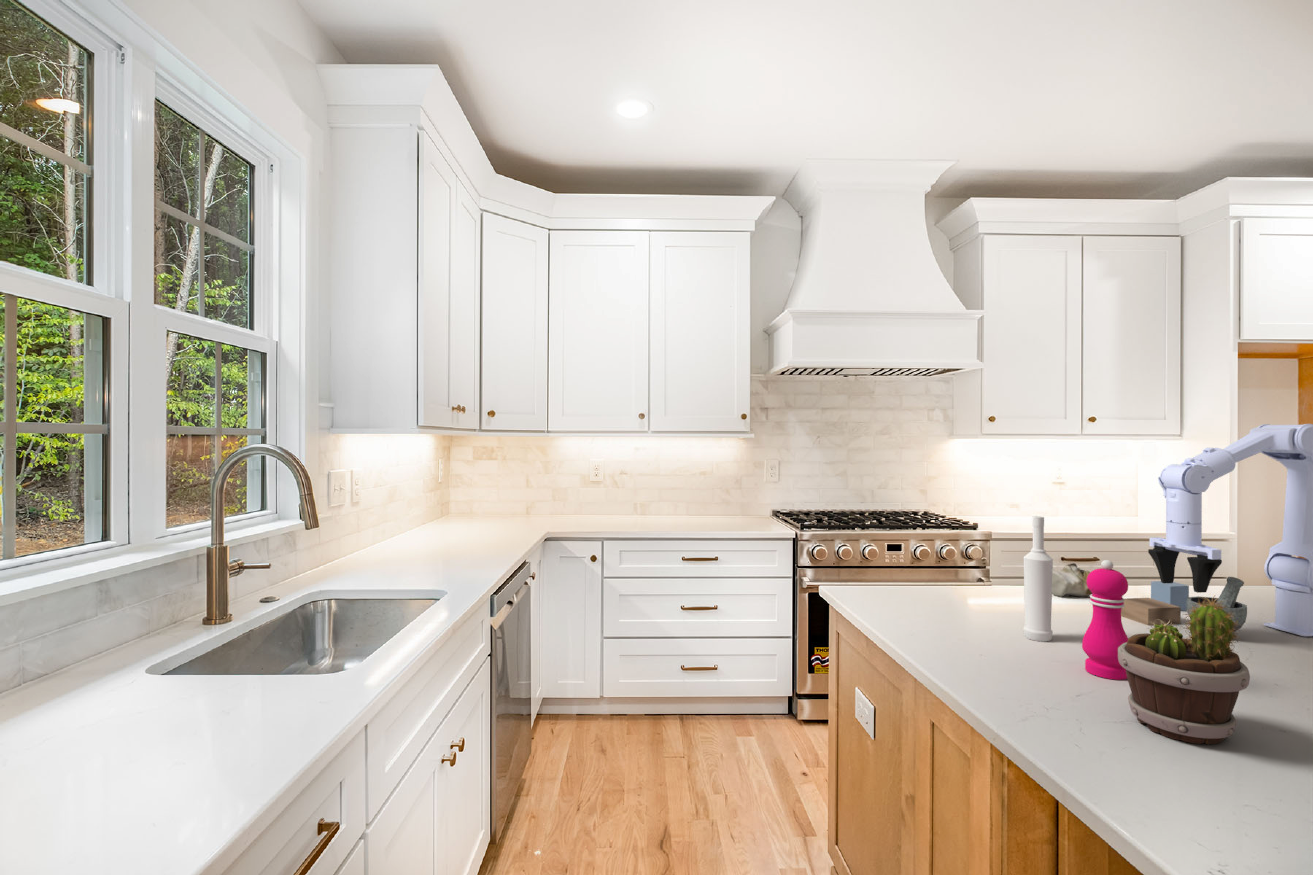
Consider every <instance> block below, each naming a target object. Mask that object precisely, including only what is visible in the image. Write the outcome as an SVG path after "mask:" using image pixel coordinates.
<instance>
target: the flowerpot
mask: <svg viewBox="0 0 1313 875" xmlns="http://www.w3.org/2000/svg"><path fill="white" fill-rule="evenodd" d="M1199 597H1200V598H1201V597H1202V596H1199ZM1203 597H1204V598H1205V597H1206V596H1203ZM1204 598H1203V599H1204ZM1213 598H1215V596H1212V602H1210V600H1208V599H1207V598H1206V599H1207V601H1208V602H1209V603H1210V604H1208V603H1207V604H1206V605H1205V603H1206V602H1207V601H1206V599H1205V600H1204V601H1203V602H1202V605H1201V603H1200V601H1199V602H1198V605H1199V606H1200V607H1198V606H1197V608H1196V607H1194V608H1195V609H1193V607H1192V606H1191V607H1192V609H1193V610H1192V609H1190V610H1192V613H1191V612H1190V613H1191V614H1190V613H1189V615H1188V611H1186V613H1185V614H1182V615H1183V616H1184V615H1185V617H1184V619H1186V618H1187V620H1186V621H1187V622H1186V624H1184V626H1182V625H1180V628H1178V626H1176V624H1172V622H1171V624H1169V625H1167V624H1168V623H1169V622H1170V621H1169V622H1168V623H1167V624H1166V623H1165V624H1166V625H1165V624H1164V623H1163V624H1164V625H1163V624H1161V625H1155V624H1154V623H1153V624H1154V625H1150V626H1151V627H1150V628H1149V627H1147V628H1146V629H1148V630H1149V633H1136V634H1133V635H1131V636H1130V637H1128V641H1127V642H1126V643H1123V644H1122V645H1121V646H1119V648H1118V660H1119V663H1120V665H1121V666H1122V667H1123V668H1124V669H1126V674H1127V679H1126V680H1127V682H1128V685H1129V689H1130V694H1129V695H1128V698H1127V699H1128V704H1129V707H1130V710H1131V711H1130V712H1132V714H1133V716H1135V717H1136V720H1137V722H1139V724H1146V727H1147V728H1148V730H1150V731H1152V732H1154V733H1157V734H1161V735H1163V736H1164V737H1167V738H1168V739H1169V738H1170V739H1173V740H1176V741H1177V740H1178V741H1183V742H1184V743H1190V744H1195V745H1200V744H1205V745H1216V744H1220V743H1221V742H1223V740H1225V738H1229V737H1230V736H1232V735H1233V734H1234V732H1235V729H1236V725H1237V722H1238V721H1237V718H1236V716H1235V715H1234V714H1233V711H1234V708H1235V706H1236V703H1237V701H1238V697H1239V694H1240V691H1243V690H1245V689H1247V687H1248V686H1249V684H1250V678H1251V677H1250V676H1251V675H1250V671H1249V668H1248V667H1247V665H1246V664H1244V663H1243V662H1242V661H1241V659H1240V656H1239V654H1238V653H1237V652H1236V651H1235V649H1236V648H1235V645H1234V644H1237V643H1239V641H1238V640H1240V638H1239V637H1238V634H1236V631H1238V630H1240V629H1239V628H1238V630H1237V629H1236V631H1235V632H1234V633H1235V634H1234V636H1233V633H1232V632H1233V631H1234V630H1235V629H1234V630H1233V628H1234V627H1235V625H1236V626H1237V622H1238V621H1237V622H1235V623H1234V622H1233V621H1232V619H1231V618H1232V617H1233V616H1235V615H1233V616H1231V615H1232V614H1231V613H1230V612H1229V613H1230V614H1228V613H1226V612H1225V611H1224V610H1225V609H1224V610H1222V608H1227V607H1222V605H1221V607H1220V604H1221V603H1220V604H1219V603H1218V604H1216V603H1217V602H1216V603H1215V601H1216V600H1217V599H1215V600H1214V602H1213ZM1205 601H1206V602H1205ZM1219 602H1221V601H1219ZM1203 603H1204V604H1203ZM1222 604H1223V603H1222ZM1217 605H1219V606H1217ZM1226 611H1227V610H1226ZM1231 612H1232V610H1231ZM1234 613H1235V612H1234ZM1234 613H1233V614H1234ZM1182 615H1181V616H1182ZM1230 617H1231V618H1230ZM1235 619H1236V618H1235ZM1157 620H1158V619H1157ZM1170 620H1171V619H1170ZM1160 621H1161V620H1160ZM1163 621H1164V620H1163ZM1151 623H1152V622H1151ZM1233 625H1234V627H1233ZM1240 625H1241V624H1240ZM1153 626H1154V627H1153ZM1181 629H1182V630H1183V629H1184V630H1185V629H1186V630H1185V632H1186V634H1188V636H1185V637H1184V635H1183V633H1181V632H1180V631H1181ZM1232 630H1233V631H1232ZM1234 637H1235V638H1234ZM1232 639H1233V640H1232ZM1234 639H1235V640H1236V639H1238V640H1236V641H1235V640H1234Z"/></svg>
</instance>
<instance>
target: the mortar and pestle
mask: <svg viewBox="0 0 1313 875" xmlns="http://www.w3.org/2000/svg"><path fill="white" fill-rule="evenodd" d="M1244 584H1245V582H1244V581H1243V580H1241V579H1240V578H1238V577H1234V576H1227V578H1226V583H1225V586H1224V587H1223V589H1222V591H1221V593H1220V594H1219V597H1214V598H1213V596H1212V597H1209V596H1199V595H1198V596H1189V597H1187V611H1186V612H1188V613H1187V614H1188V615H1187V616H1189V613H1190V612H1191V613H1192V610H1193V609H1195V608H1194V607H1196V608H1197V606H1198V607H1200V606H1199V605H1198V602H1199V601H1200V603H1201V605H1202V602H1203V601H1204V600H1205V599H1206V598H1207V599H1208V600H1210V602H1212V598H1213V602H1214V600H1215V599H1217V600H1216V601H1215V603H1216V602H1217V603H1216V604H1218V603H1219V604H1220V603H1221V604H1220V607H1221V605H1222V607H1227V608H1222V610H1224V609H1225V610H1224V611H1225V612H1226V613H1228V614H1230V613H1231V614H1232V615H1231V616H1233V615H1235V616H1233V617H1232V618H1231V617H1230V618H1231V619H1232V621H1233V622H1234V623H1235V622H1237V621H1238V622H1237V626H1236V625H1235V627H1234V625H1233V627H1234V628H1233V630H1234V629H1235V630H1234V631H1233V630H1232V631H1233V632H1232V633H1233V636H1234V634H1235V635H1236V631H1239V630H1241V628H1243V626H1244V625H1245V623H1246V621H1247V616H1248V605H1246V604H1244V603H1242V602H1238V601H1237V599H1238V596H1239V593H1240V590H1241V588H1242V587H1244ZM1200 597H1201V598H1200ZM1204 597H1205V598H1204ZM1203 598H1204V599H1203ZM1207 599H1206V601H1207ZM1206 601H1205V602H1206ZM1219 601H1221V602H1219ZM1207 603H1208V604H1210V603H1209V602H1208V601H1207V602H1206V603H1205V605H1206V604H1207ZM1222 603H1223V604H1222ZM1203 604H1204V603H1203ZM1191 606H1192V607H1193V609H1192V607H1191ZM1217 606H1219V605H1217ZM1190 609H1192V610H1190ZM1226 610H1227V611H1226ZM1231 610H1232V612H1231ZM1229 612H1230V613H1229ZM1234 612H1235V613H1234ZM1191 613H1190V614H1191ZM1233 613H1234V614H1233ZM1235 618H1236V619H1235ZM1240 624H1241V625H1240ZM1238 628H1239V629H1238ZM1236 629H1237V630H1236ZM1234 632H1235V633H1234ZM1234 638H1235V637H1234ZM1232 640H1233V639H1232ZM1233 641H1236V638H1235V639H1234V640H1233Z"/></svg>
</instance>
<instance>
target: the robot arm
mask: <svg viewBox="0 0 1313 875" xmlns="http://www.w3.org/2000/svg"><path fill="white" fill-rule="evenodd" d="M1258 454H1263V455H1265V456H1267V457H1268V458H1271V459H1273V460H1275V461H1276V462H1279V463H1280V464H1281V465H1283V466H1284V467H1285V469H1287V471H1286V472H1287V474H1286V483H1285V484H1286V486H1285V498H1284V500H1285V501H1284V512H1283V525H1282V527H1283V528H1282V538H1281V540H1282V541H1280V542H1278V543H1276V544H1275V545H1273V546H1270V548H1269V553H1268V557H1267V558H1266V560H1265V562H1264V573H1265V575H1266V577H1267V579H1269V580H1270V581H1271V585H1272V586H1275V588H1274V590H1275V595H1274V597H1275V598H1274V599H1275V602H1274V603H1275V604H1274V622H1264V623H1263V626H1264V627H1267V628H1268V627H1269V628H1272V629H1276V630H1280V631H1283V632H1287V633H1290V634H1293V635H1298V636H1299V637H1300V636H1301V637H1313V423H1304V424H1270V423H1267V424H1266V423H1265V424H1260V425H1258V426H1257V427H1254V428H1251V429H1249V433H1248V434H1246V435H1245V436H1243V437H1241V438H1239V439H1237V440H1236V441H1234V442H1233V443H1230V444H1229V445H1227V446H1226V447H1224V448H1219V447H1205V448H1203V449H1202V452H1201V453H1199V454H1197V455H1195V456H1193V457H1187V458H1185V459H1184V460H1183V462H1181V463H1180V464H1178V463H1176V464H1175V463H1172V464H1169V465H1167V466H1166V467H1164V468H1163V469H1162V471H1161V472H1160V476H1158V477H1157V480H1158V484H1159V486H1160V487H1161V489H1162V491H1163V497H1164V498H1165V514H1166V515H1165V538H1162V537H1158V536H1157V537H1149V547H1150V549H1148V550H1147V553H1148V555H1149V556H1150V557H1151V559H1152V560H1153V562H1154V565H1155V566H1156V569H1157V571H1158V575H1159V578H1160V581H1161V582H1162V583H1173V582H1175V581H1174V580H1175V570H1176V563H1177V560H1178V557H1179V555H1180V553H1182V554H1188V555H1192V556H1187V558H1186V559H1187V562H1188V565H1189V566H1190V570H1191V576H1192V589H1193V592H1195V593H1197V594H1198V593H1207V591H1208V588H1209V585H1210V583H1211V580H1212V577H1213V576H1214V574H1215V572H1216V571H1217V569H1218V568H1219V567H1220V566H1221V565H1222V564H1223V561H1222V549H1220V548H1215V547H1212V546H1208V545H1205V544H1202V541H1203V539H1202V538H1203V537H1202V536H1203V535H1202V534H1203V533H1202V532H1203V531H1202V528H1203V527H1202V526H1203V524H1202V521H1203V520H1202V517H1203V515H1202V512H1203V508H1202V507H1203V504H1202V503H1203V501H1202V500H1203V496H1202V495H1203V493H1205V492H1207V490H1208V489H1209V488H1210V486H1211V483H1212V482H1213V483H1214V481H1215V480H1217V479H1219V478H1221V477H1223V476H1226V475H1228V474H1230V473H1232V472H1233V471H1234V470H1235V468H1236V463H1238V462H1239V463H1240V462H1241V461H1243V460H1246V459H1248V458H1250V457H1253V456H1257V455H1258Z"/></svg>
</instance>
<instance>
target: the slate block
mask: <svg viewBox="0 0 1313 875" xmlns="http://www.w3.org/2000/svg"><path fill="white" fill-rule="evenodd" d="M1187 597H1190V586H1189V585H1187V584H1184V583H1179V582H1176V581H1173V583H1162V582H1161V580H1157V581H1156V580H1154V581H1153V580H1152V581H1150V598H1151V599H1154V600H1158V601H1161V602H1165V603H1168V604H1171V605H1175V606H1178V607H1181V612H1188V611H1187Z"/></svg>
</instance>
